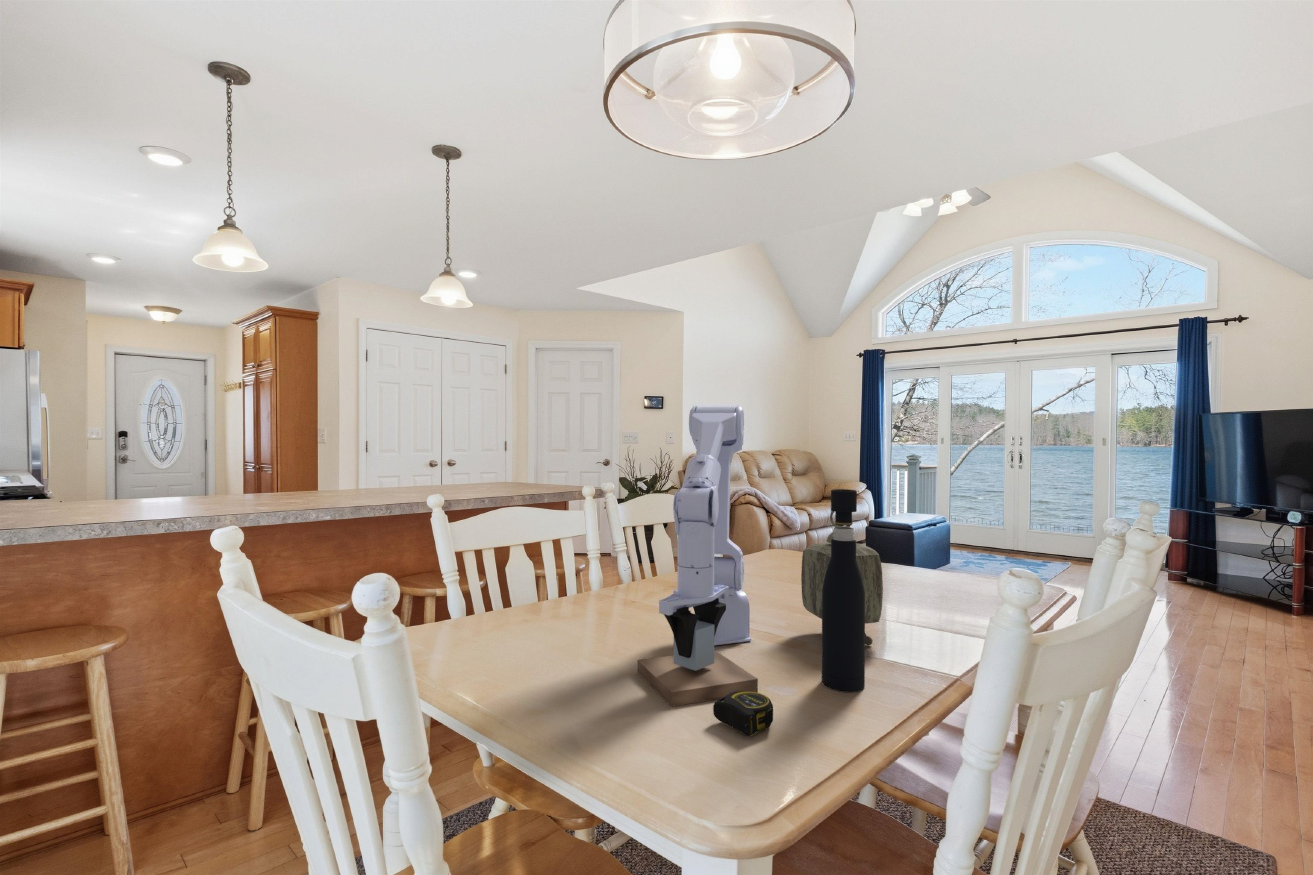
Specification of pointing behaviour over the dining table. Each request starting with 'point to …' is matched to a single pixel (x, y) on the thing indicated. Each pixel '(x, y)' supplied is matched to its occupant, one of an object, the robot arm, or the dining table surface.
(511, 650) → the dining table surface
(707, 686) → the walnut base
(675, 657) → the slate block
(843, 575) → the wine bottle
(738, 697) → the tape measure
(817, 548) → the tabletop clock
